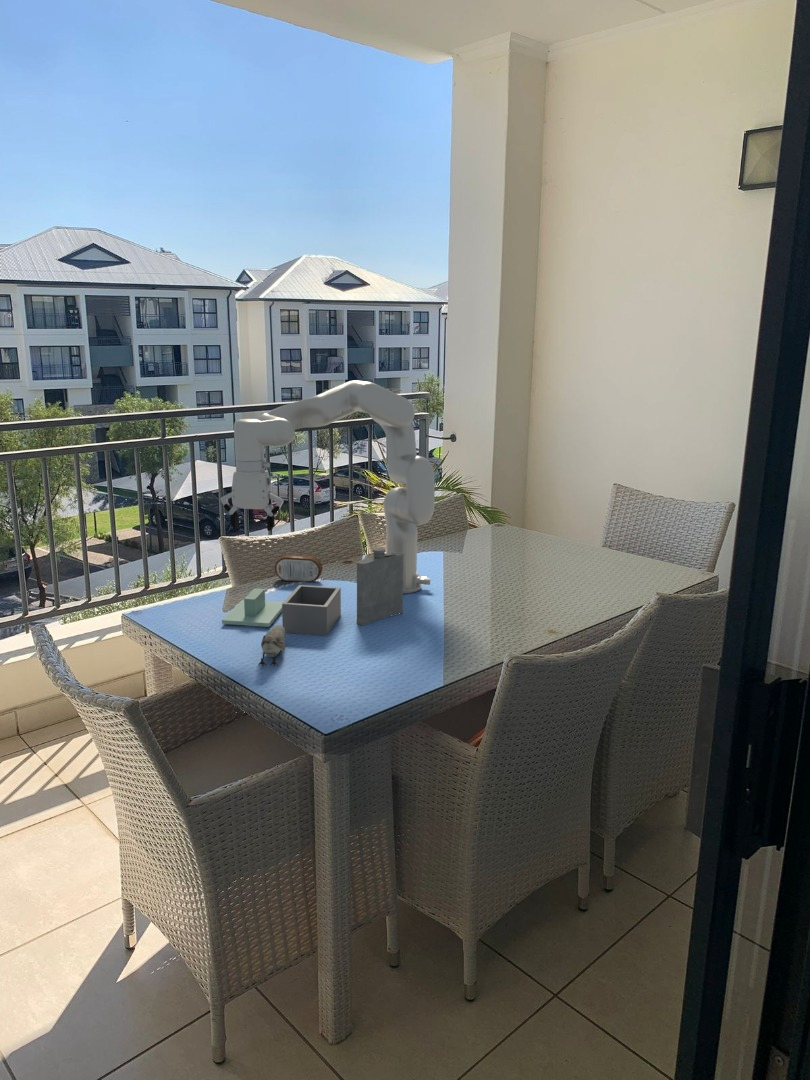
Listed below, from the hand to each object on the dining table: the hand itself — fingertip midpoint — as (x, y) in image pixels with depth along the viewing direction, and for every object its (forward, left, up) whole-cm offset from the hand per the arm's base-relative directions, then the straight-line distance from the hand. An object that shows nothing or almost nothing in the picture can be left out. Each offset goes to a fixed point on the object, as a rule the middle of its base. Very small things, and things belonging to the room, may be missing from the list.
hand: (253, 528), depth 213 cm
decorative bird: (-13, +25, -26) cm, 38 cm away
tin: (-3, -33, -26) cm, 42 cm away
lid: (0, 0, -26) cm, 26 cm away
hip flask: (-34, -6, -25) cm, 43 cm away
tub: (-17, +2, -25) cm, 30 cm away
